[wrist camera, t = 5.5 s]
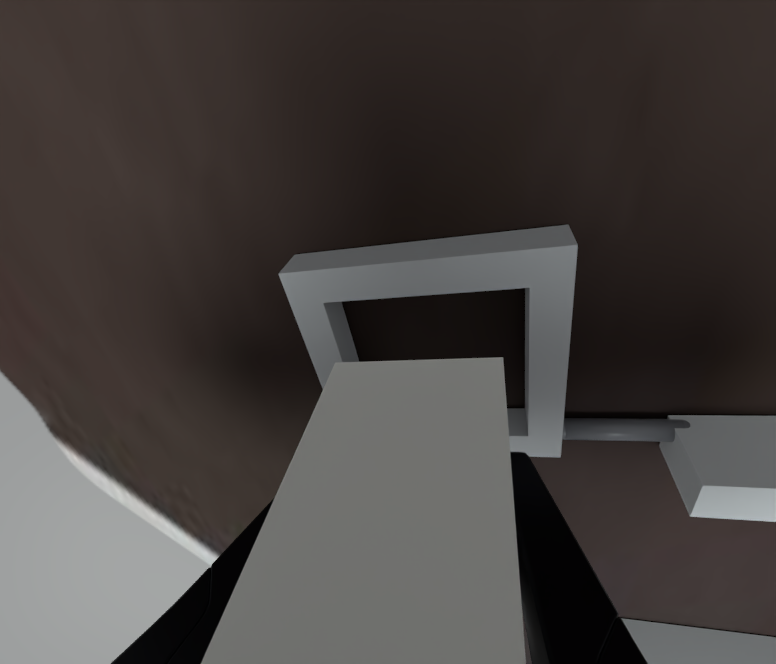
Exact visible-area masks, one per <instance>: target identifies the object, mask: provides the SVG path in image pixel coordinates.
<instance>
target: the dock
mask: <svg viewBox="0 0 776 664" xmlns="http://www.w3.org/2000/svg"><path fill="white" fill-rule="evenodd" d="M562 439H563V440H605V441H656V442H660V444H659V447H660V449H661V452H662V454H663V456H664V459H665V461H666V463H667V465H668V468H669V470H670V472H671V475H672V477H673V479H674V481H675V484H676V486H677V488H678V490H679V493H680V495H681V497H682V500H683V502H684V504H685V506H686V509H687V511H688V513H689V516H690V517H706V518H722V519H738V520H755V521H771V522H776V416H721V415H668V417H667V419H616V418H564V423H563V435H562ZM621 619H622V620H623V622H624V624H625V626H626V627H627V629H628V631H629V633H630V634H631V636H632V638H633V640H634V641H635V643H636V645H637V646H638V648H639V650H640V651H641V653H642V655H643V656H644V658H645V660H646V661H647V663H648V664H776V637H770V636H761V635H753V634H745V633H737V632H729V631H721V630H713V629H704V628H696V627H688V626H680V625H672V624H664V623H656V622H647V621H639V620H631V619H623V618H621Z"/></svg>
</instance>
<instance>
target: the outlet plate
mask: <svg viewBox="0 0 776 664" xmlns="http://www.w3.org/2000/svg"><path fill="white" fill-rule="evenodd" d="M577 250H578V244H577V242H576V240H575V238H574V235H573V233H572V231H571V229H570V227H569V225H560V226H551V227H541V228H532V229H523V230H514V231H505V232H496V233H487V234H478V235H469V236H459V237H450V238H441V239H432V240H423V241H414V242H405V243H396V244H386V245H377V246H368V247H359V248H350V249H341V250H332V251H323V252H313V253H304V254H295V255H294V256H293V257H292V258H291V259H290V261H289V262H288V263H287V264H286V265H285V267H284V268H283V269H282V270H281V271H280V272H279V277H280V280H281V282H282V285H283V287H284V290H285V293H286V295H287V298H288V300H289V303H290V306H291V308H292V311H293V313H294V316H295V319H296V321H297V324H298V326H299V329H300V331H301V334H302V337H303V339H304V342H305V344H306V347H307V350H308V352H309V355H310V357H311V360H312V363H313V365H314V368H315V370H316V373H317V376H318V378H319V381H320V383H321V386H322V389H324V386H325V384H326V382H327V380H328V377H329V375H330V373H331V371H332V369H333V366H334V364H335V363H337V362H359V359H358V355H357V352H356V349H355V345H354V342H353V339H352V335H351V332H350V329H349V325H348V322H347V319H346V315H345V312H344V309H343V305H342V301H356V300H370V299H383V298H397V297H411V296H424V295H438V294H451V293H465V292H479V291H492V290H506V289H520V288H525V408H507V416H508V429H509V443H510V452H525V453H526V454H527V455H528V456H529V457H561V447H562V435H563V423H564V410H565V398H566V386H567V373H568V361H569V349H570V336H571V324H572V312H573V299H574V287H575V275H576V262H577Z"/></svg>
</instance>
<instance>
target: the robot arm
mask: <svg viewBox="0 0 776 664" xmlns="http://www.w3.org/2000/svg"><path fill="white" fill-rule="evenodd" d="M510 456H511V469H512V483H513V496H514V510H515V523H516V537H517V550H518V564H519V577H520V590H521V604H522V609H523V615H524V621H525V626H526V632H527V638H528V643H529V649H530V655H531V660H532V664H648V663H647V661H646V660H645V658H644V656H643V655H642V653H641V651H640V650H639V648H638V646H637V645H636V643H635V641H634V640H633V638H632V636H631V634H630V633H629V631H628V629H627V627H626V626H625V624H624V622H623V620H622V619H621V618H618V612H617V610H616V608H615V607H614V605H613V603H612V601H611V600H610V598H609V596H608V594H607V593H606V591H605V589H604V587H603V586H602V584H601V582H600V580H599V579H598V577H597V575H596V573H595V572H594V570H593V568H592V566H591V565H590V563H589V561H588V559H587V558H586V556H585V554H584V552H583V551H582V549H581V547H580V545H579V544H578V542H577V540H576V538H575V537H574V535H573V533H572V531H571V530H570V528H569V526H568V524H567V523H566V521H565V519H564V517H563V516H562V514H561V512H560V510H559V509H558V507H557V505H556V503H555V502H554V500H553V498H552V496H551V495H550V493H549V491H548V489H547V488H546V486H545V484H544V482H543V481H542V479H541V477H540V475H539V474H538V472H537V470H536V468H535V466H534V465H533V463H532V461H531V459H530V458H529V456H528V455H527V454H526V453H525V452H510ZM273 501H274V499H273V500H272V501H271V502H270V503H269V504H268V505H267V506H266V507H265V508H264V509H263V510H262V511H261V513H260V514H259V515H258V516H257V517H256V518H255V519H254V520H253V521H252V522H251V523H250V524H249V525H248V526H247V528H246V529H245V530H244V531H243V532H242V533H241V534H240V535H239V536H238V537H237V538H236V539H235V540H234V541H233V543H232V544H231V545H230V546H229V547H228V548H227V549H226V550H225V551H224V552H223V553H222V554H221V555H220V556H219V558H218V559H217V560H216V561H215V562H214V563H213V564H212V566H211V568H208V569H207V570H206V571H205V572H204V574H203V575H202V576H201V577H200V578H199V579H198V580H197V581H196V582H195V583H194V584H193V585H192V586H191V587H190V588H189V589H188V590H187V591H186V592H185V593H184V594H183V595H182V596H181V597H180V599H178V601H177V602H176V603H175V604H174V605H173V606H172V607H170V608H169V609H168V610H167V611H166V612H165V613H164V614H163V615H162V616H161V617H160V618H159V619H158V620H157V621H156V622H155V623H154V624H153V625H152V626H151V627H150V628H149V629H148V630H146V632H144V633H143V634H142V635H141V636H140V637H139V638H138V639H137V640H136V641H135V642H134V643H132V644H131V645H130V646H129V647H128V648H127V649H126V650H125V651H124V652H123V653H122V654H121V655H119V656H118V657H117V658H116V659H115V660H114V661H113V662H112V663H111V664H201V662H202V660H203V658H204V655H205V653H206V651H207V649H208V646H209V644H210V642H211V640H212V637H213V635H214V633H215V631H216V628H217V626H218V624H219V622H220V620H221V617H222V615H223V613H224V611H225V608H226V606H227V604H228V602H229V599H230V597H231V595H232V593H233V590H234V588H235V586H236V584H237V581H238V579H239V577H240V575H241V572H242V570H243V568H244V566H245V563H246V561H247V559H248V557H249V555H250V552H251V550H252V548H253V546H254V543H255V541H256V539H257V537H258V534H259V532H260V530H261V528H262V525H263V523H264V521H265V519H266V516H267V514H268V512H269V510H270V507H271V505H272V503H273Z"/></svg>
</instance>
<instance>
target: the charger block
mask: <svg viewBox="0 0 776 664" xmlns="http://www.w3.org/2000/svg"><path fill="white" fill-rule="evenodd" d="M201 664H526V658H525V644H524V631H523V617H522V604H521V590H520V577H519V564H518V550H517V537H516V523H515V510H514V496H513V483H512V469H511V456H510V443H509V429H508V416H507V402H506V389H505V375H504V362H503V357H494V358H462V359H431V360H400V361H368V362H337V363H335V364H334V366H333V369H332V371H331V373H330V375H329V377H328V380H327V382H326V384H325V386H324V389H323V391H322V393H321V395H320V398H319V400H318V402H317V404H316V407H315V409H314V411H313V413H312V416H311V418H310V420H309V422H308V425H307V427H306V429H305V431H304V434H303V436H302V438H301V440H300V442H299V445H298V447H297V449H296V451H295V454H294V456H293V458H292V460H291V463H290V465H289V467H288V469H287V472H286V474H285V476H284V478H283V481H282V483H281V485H280V487H279V490H278V492H277V494H276V496H275V498H274V501H273V503H272V505H271V507H270V510H269V512H268V514H267V516H266V519H265V521H264V523H263V525H262V528H261V530H260V532H259V534H258V537H257V539H256V541H255V543H254V546H253V548H252V550H251V552H250V555H249V557H248V559H247V561H246V563H245V566H244V568H243V570H242V572H241V575H240V577H239V579H238V581H237V584H236V586H235V588H234V590H233V593H232V595H231V597H230V599H229V602H228V604H227V606H226V608H225V611H224V613H223V615H222V617H221V620H220V622H219V624H218V626H217V628H216V631H215V633H214V635H213V637H212V640H211V642H210V644H209V646H208V649H207V651H206V653H205V655H204V658H203V660H202V662H201Z"/></svg>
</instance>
